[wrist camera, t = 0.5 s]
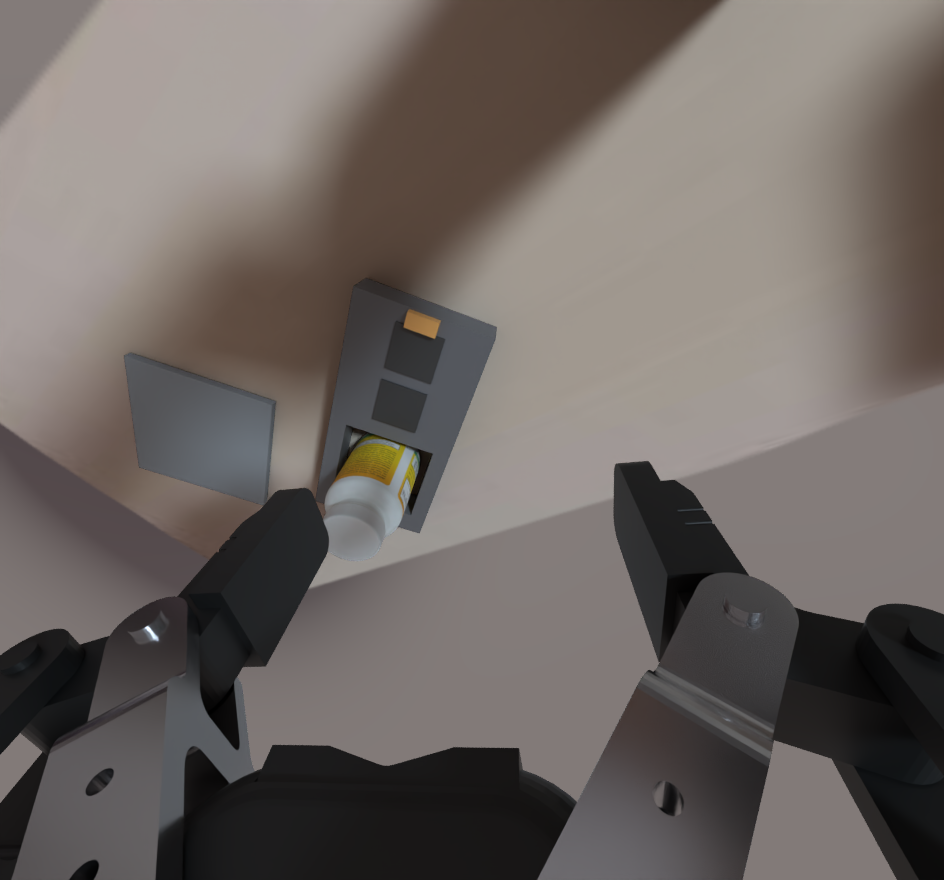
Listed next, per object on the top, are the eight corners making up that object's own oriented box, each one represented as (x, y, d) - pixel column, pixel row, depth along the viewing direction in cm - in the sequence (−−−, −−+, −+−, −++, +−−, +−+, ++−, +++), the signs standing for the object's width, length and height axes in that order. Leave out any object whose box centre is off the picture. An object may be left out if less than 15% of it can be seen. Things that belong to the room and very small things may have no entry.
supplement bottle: (434, 463, 34) (409, 552, 26) (386, 489, 36) (348, 579, 28) (392, 415, 32) (350, 494, 24) (343, 445, 34) (289, 528, 25)
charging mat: (130, 352, 31) (123, 355, 30) (275, 401, 32) (272, 404, 31) (144, 463, 36) (139, 467, 36) (266, 501, 38) (263, 505, 37)
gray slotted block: (366, 278, 26) (350, 288, 24) (496, 326, 27) (495, 342, 25) (326, 482, 36) (312, 505, 33) (424, 513, 37) (417, 538, 34)
